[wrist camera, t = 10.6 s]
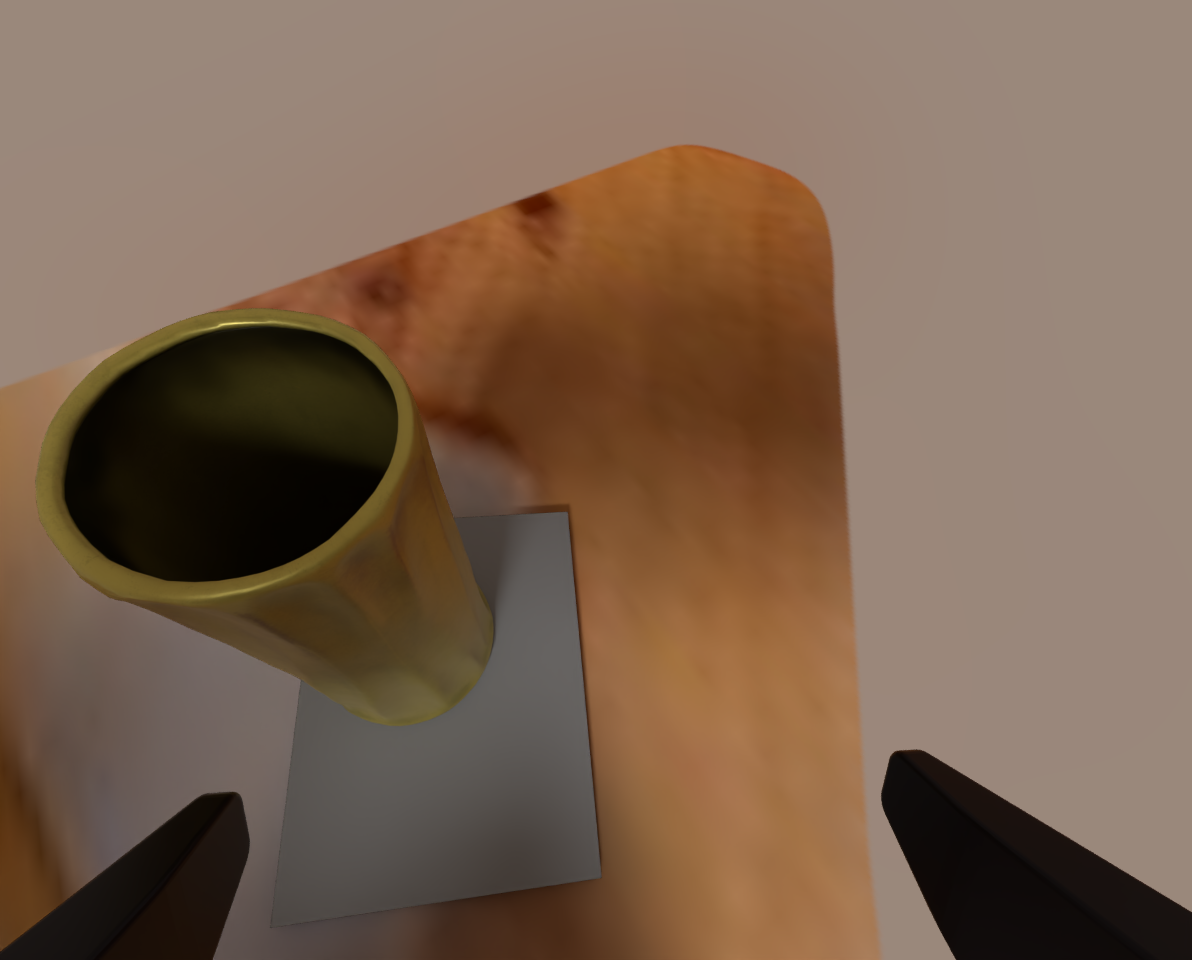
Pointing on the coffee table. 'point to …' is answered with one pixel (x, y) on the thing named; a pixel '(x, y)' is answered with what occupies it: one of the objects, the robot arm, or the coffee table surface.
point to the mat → (455, 760)
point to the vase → (272, 507)
